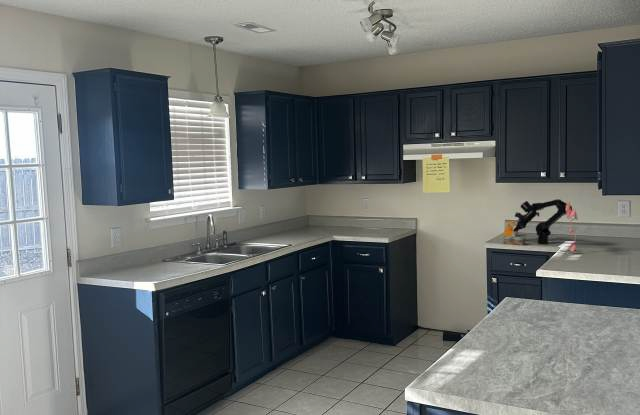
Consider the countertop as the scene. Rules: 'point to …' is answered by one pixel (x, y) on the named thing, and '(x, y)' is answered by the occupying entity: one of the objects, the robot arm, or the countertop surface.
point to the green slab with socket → (514, 240)
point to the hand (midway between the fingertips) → (513, 230)
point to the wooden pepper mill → (515, 233)
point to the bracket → (509, 229)
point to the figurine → (570, 214)
